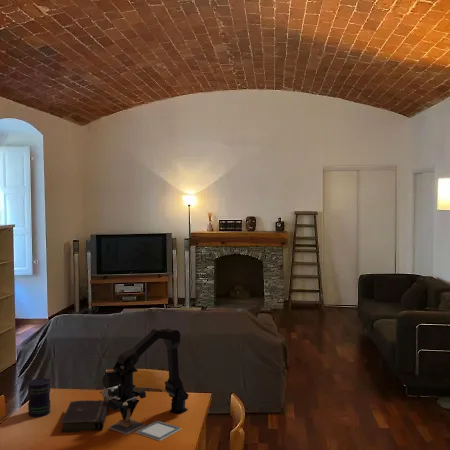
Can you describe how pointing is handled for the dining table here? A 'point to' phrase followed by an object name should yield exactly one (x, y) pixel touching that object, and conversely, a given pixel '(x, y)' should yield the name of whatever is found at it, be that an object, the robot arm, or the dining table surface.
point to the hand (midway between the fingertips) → (126, 418)
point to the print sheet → (158, 430)
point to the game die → (106, 394)
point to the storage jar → (39, 397)
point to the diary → (84, 416)
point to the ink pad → (126, 430)
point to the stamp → (127, 420)
